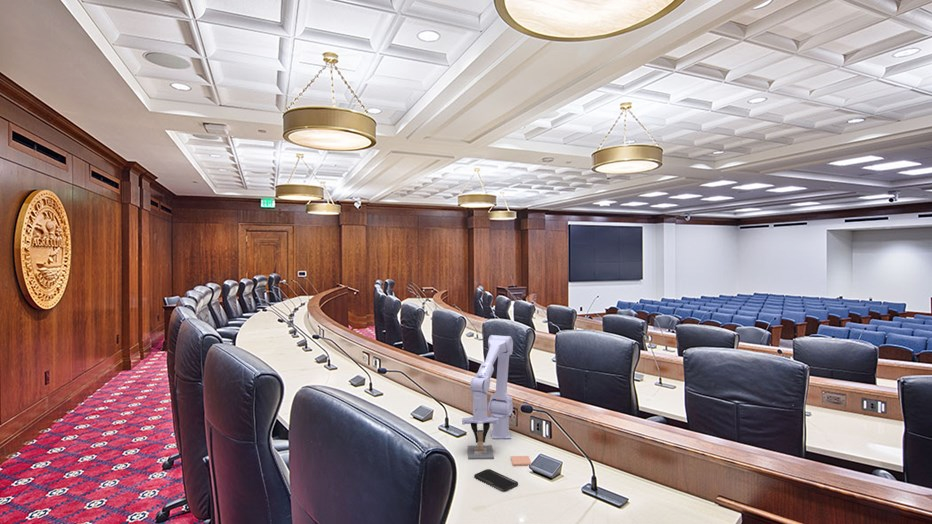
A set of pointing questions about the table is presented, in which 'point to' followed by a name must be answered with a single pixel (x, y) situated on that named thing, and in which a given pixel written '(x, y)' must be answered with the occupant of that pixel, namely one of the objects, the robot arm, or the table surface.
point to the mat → (473, 456)
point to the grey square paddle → (480, 444)
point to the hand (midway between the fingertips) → (480, 441)
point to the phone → (496, 480)
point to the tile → (520, 460)
